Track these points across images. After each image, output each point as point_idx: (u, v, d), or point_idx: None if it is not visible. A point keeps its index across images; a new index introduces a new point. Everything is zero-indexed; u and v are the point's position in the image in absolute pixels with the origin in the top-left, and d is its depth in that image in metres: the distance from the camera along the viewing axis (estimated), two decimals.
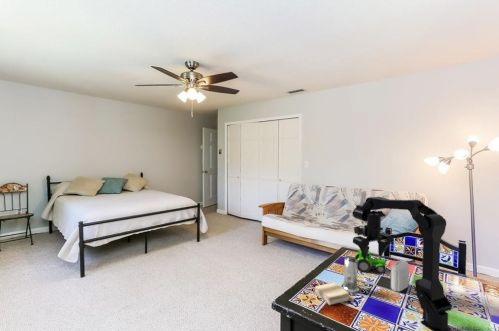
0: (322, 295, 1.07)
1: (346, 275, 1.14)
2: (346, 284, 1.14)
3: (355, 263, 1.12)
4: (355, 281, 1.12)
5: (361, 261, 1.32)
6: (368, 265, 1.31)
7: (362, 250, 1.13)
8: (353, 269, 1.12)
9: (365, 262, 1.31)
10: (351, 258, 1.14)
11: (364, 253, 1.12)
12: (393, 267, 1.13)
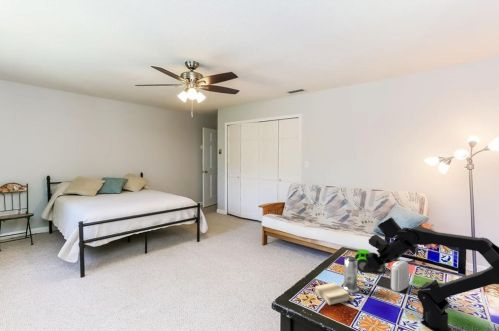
0: (322, 295, 1.07)
1: (346, 275, 1.14)
2: (346, 284, 1.14)
3: (355, 263, 1.12)
4: (355, 281, 1.12)
5: (361, 261, 1.32)
6: None
7: (368, 265, 1.02)
8: (353, 269, 1.12)
9: (365, 262, 1.31)
10: (351, 258, 1.14)
11: (369, 268, 1.02)
12: (393, 267, 1.13)
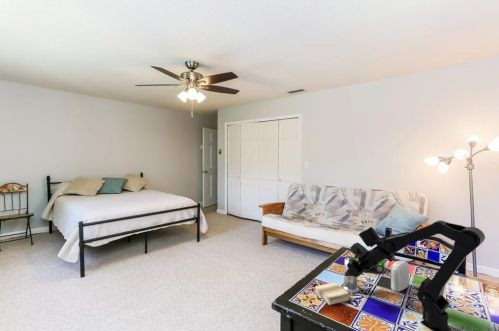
0: (322, 295, 1.07)
1: None
2: (346, 284, 1.14)
3: None
4: (355, 281, 1.12)
5: None
6: None
7: (349, 271, 1.09)
8: None
9: None
10: (351, 258, 1.14)
11: (350, 274, 1.09)
12: (393, 267, 1.13)
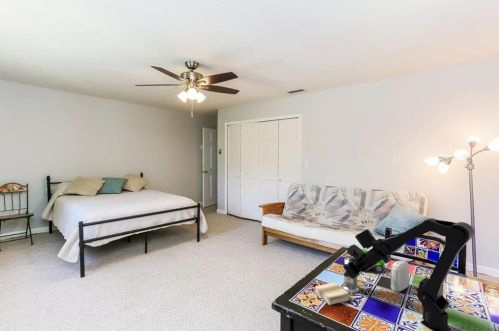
0: (322, 295, 1.07)
1: None
2: (345, 284, 1.14)
3: None
4: (355, 281, 1.12)
5: None
6: None
7: None
8: None
9: None
10: (351, 258, 1.14)
11: (348, 275, 1.11)
12: (393, 267, 1.13)
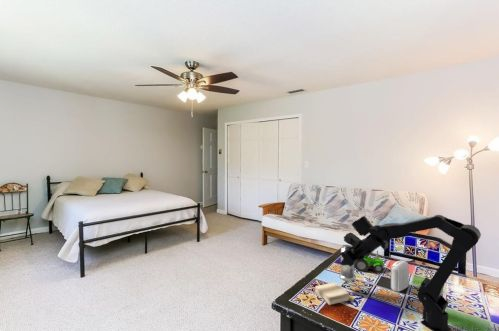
0: (322, 295, 1.07)
1: None
2: (342, 272, 1.12)
3: None
4: (352, 269, 1.11)
5: (359, 260, 1.33)
6: (366, 264, 1.31)
7: None
8: None
9: (363, 261, 1.32)
10: (348, 246, 1.13)
11: (345, 263, 1.10)
12: (393, 267, 1.13)
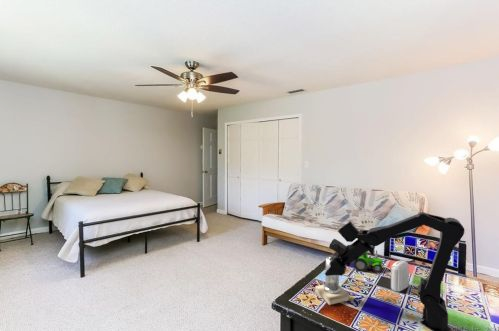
0: (322, 295, 1.07)
1: (329, 276, 1.07)
2: (328, 285, 1.07)
3: None
4: (338, 281, 1.07)
5: (358, 260, 1.33)
6: (365, 264, 1.32)
7: (331, 270, 1.03)
8: None
9: (362, 261, 1.32)
10: (333, 257, 1.08)
11: (331, 273, 1.03)
12: (393, 267, 1.13)
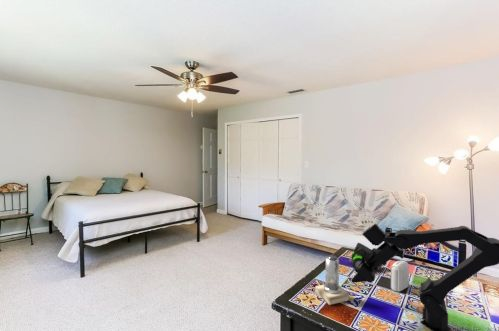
0: (322, 295, 1.07)
1: (329, 276, 1.07)
2: (328, 285, 1.07)
3: (337, 262, 1.07)
4: (338, 280, 1.07)
5: (357, 260, 1.33)
6: None
7: (358, 276, 0.98)
8: (336, 268, 1.06)
9: None
10: (332, 257, 1.08)
11: (359, 280, 0.98)
12: (393, 267, 1.13)
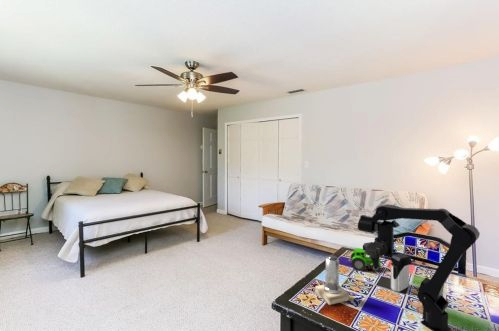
0: (322, 295, 1.07)
1: (329, 276, 1.07)
2: (328, 285, 1.07)
3: (338, 262, 1.07)
4: (338, 280, 1.07)
5: (356, 260, 1.34)
6: (363, 264, 1.32)
7: (397, 269, 0.96)
8: (336, 268, 1.06)
9: (360, 261, 1.33)
10: (333, 257, 1.08)
11: (399, 271, 0.97)
12: None
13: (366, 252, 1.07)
